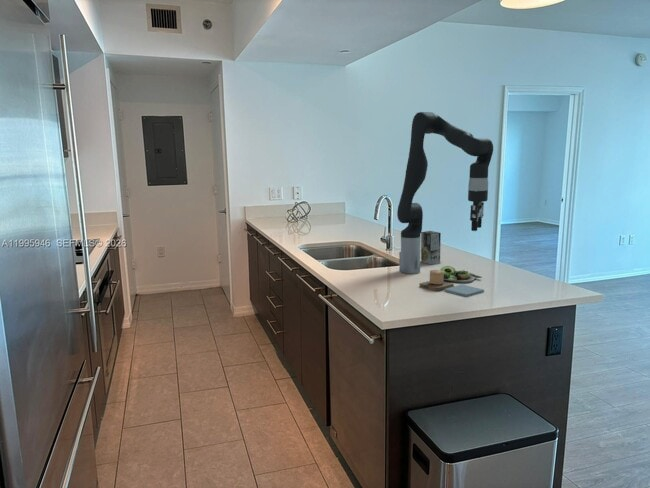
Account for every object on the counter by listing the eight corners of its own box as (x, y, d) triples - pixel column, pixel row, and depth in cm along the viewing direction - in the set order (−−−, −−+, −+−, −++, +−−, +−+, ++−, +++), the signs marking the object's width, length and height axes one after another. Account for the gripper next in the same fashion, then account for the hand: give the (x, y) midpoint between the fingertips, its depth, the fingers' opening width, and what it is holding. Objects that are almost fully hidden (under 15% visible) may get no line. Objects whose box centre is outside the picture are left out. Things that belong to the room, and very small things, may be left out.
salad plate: (485, 276, 218) (485, 267, 217) (476, 286, 203) (477, 275, 202) (443, 273, 227) (443, 263, 227) (432, 281, 212) (432, 271, 211)
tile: (444, 291, 195) (444, 288, 195) (461, 286, 201) (461, 284, 201) (466, 297, 186) (466, 294, 186) (483, 292, 192) (484, 289, 192)
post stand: (419, 286, 203) (419, 273, 202) (435, 282, 208) (435, 269, 207) (437, 291, 195) (437, 277, 193) (453, 287, 200) (453, 273, 199)
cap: (426, 282, 202) (427, 271, 201) (435, 280, 205) (436, 269, 204) (437, 284, 197) (437, 273, 196) (446, 282, 200) (446, 271, 200)
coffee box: (440, 263, 246) (441, 232, 244) (430, 264, 244) (430, 233, 241) (430, 260, 255) (431, 230, 252) (420, 261, 252) (420, 231, 250)
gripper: (472, 187, 197) (470, 226, 200) (464, 190, 185) (463, 231, 188) (490, 188, 194) (489, 227, 197) (484, 190, 181) (482, 232, 185)
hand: (476, 229), depth 192 cm, fingers open, 8 cm apart
